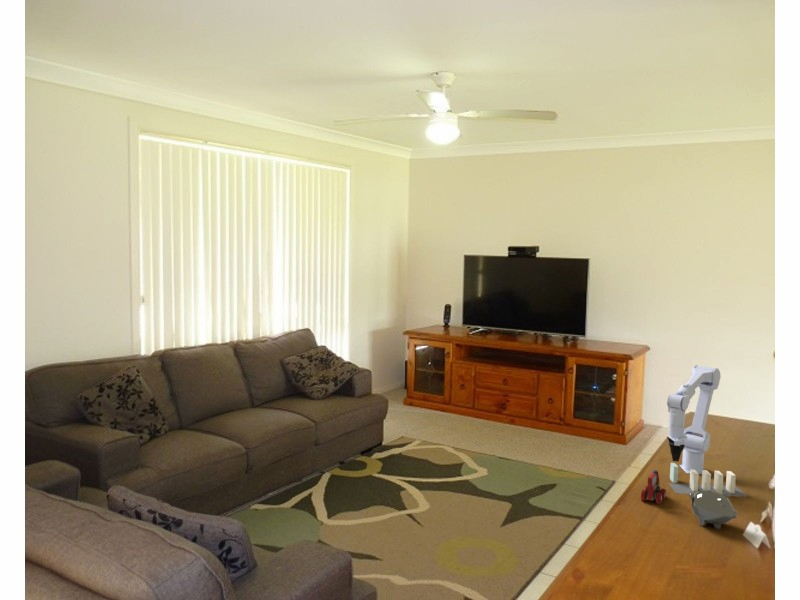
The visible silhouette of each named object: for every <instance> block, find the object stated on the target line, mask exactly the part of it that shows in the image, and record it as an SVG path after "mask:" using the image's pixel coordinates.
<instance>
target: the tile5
mask: <svg viewBox="0 0 800 600" xmlns="http://www.w3.org/2000/svg"><path fill="white" fill-rule="evenodd" d="M736 476H737V475H736V474H735V473H733V471H730V470H726V477H725V478H726V479H725V486H726V489H727V490H728V491H729V492H730V493H735V486H736V481H737V479H736V478H737V477H736Z"/></svg>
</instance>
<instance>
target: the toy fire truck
mask: <svg viewBox="0 0 800 600" xmlns="http://www.w3.org/2000/svg"><path fill="white" fill-rule="evenodd" d="M660 483H661V482H660V475H659V471H658V470H656V469H655V470H653V471H652V472H651V474H650V475H649V476H648V477H647V485H645V488H643V489H642V490H641V492H640V499H641V501H643V502H646V501H647V500H648V501H654V500H655V503H656V504H657V505H661V504H662V502H663V500H665V499H666V497H667V489H665V488H661V484H660Z"/></svg>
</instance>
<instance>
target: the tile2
mask: <svg viewBox="0 0 800 600" xmlns="http://www.w3.org/2000/svg"><path fill="white" fill-rule="evenodd" d="M699 475H700V474H698V473H697V472H696V470H691V469H690V474H689V484H690V486H689V487H690V488H691V489H692V490H693V491H697V492H698V485H699Z"/></svg>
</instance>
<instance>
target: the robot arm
mask: <svg viewBox="0 0 800 600" xmlns="http://www.w3.org/2000/svg"><path fill="white" fill-rule="evenodd" d="M690 373H691V374H690V375H691V377H690V379H689V380H688V381H687V383H683V384H682V385H681V386H680V387H679V388H678V389H677V390H676V391H675V393H671V394H669V395H668V398H667V401H666V406H667V412H668V413H669V414H668V415H669V417H668V433H667V437H666V438H667V440H668V446H669V448H670V454H671V459H672V461H673V462H680V458H681V455H682V458H681V459H682V462H681V464H679V467H680V468H681V469H682V471H684V472H685V473H686V474H689V475H690V469H691V470H696V472H697V473H698V474H699V475H702V470H704V462H705V460H704V459H705V453H706V452H707V451H708V450H709V449H710V444H711V435H710V433H709V432H708V431H707V430H706V424H707V421H708V420H707V419H708V415H709V411H710V406H711V402H712V398H713V394H714V391H716V390H718V388H719V385H720V381H721V376H722V375H721V372H720V369H719V368H717V367H716V368H715V367H708V366H703V365H698V364H695V365H694V366H692V368H691V372H690ZM697 388H699V394H698V398H697V402H696V406H695V411H694V413H693V414H694V415H693V419H692V423H691V425H690V426H688V427H686V428H685V425H686V424H685V423H686V421H685V419H686V410H687V409H688V408H689V406H690V405H689V404H690V402H691V399H692V398H693V396H695V394H696V389H697Z"/></svg>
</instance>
